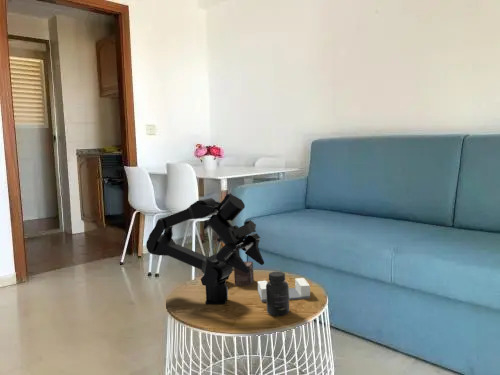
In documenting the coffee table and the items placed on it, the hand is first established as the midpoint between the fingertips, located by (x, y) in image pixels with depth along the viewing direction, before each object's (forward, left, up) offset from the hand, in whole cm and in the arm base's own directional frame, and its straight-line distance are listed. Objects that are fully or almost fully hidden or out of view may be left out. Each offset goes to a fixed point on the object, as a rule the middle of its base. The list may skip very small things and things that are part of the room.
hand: (256, 268), depth 129 cm
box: (-6, +24, -13) cm, 28 cm away
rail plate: (+8, +11, -13) cm, 19 cm away
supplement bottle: (+6, -3, -13) cm, 15 cm away
